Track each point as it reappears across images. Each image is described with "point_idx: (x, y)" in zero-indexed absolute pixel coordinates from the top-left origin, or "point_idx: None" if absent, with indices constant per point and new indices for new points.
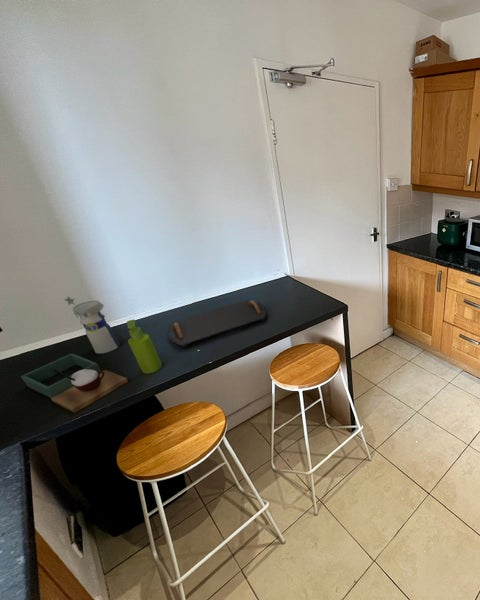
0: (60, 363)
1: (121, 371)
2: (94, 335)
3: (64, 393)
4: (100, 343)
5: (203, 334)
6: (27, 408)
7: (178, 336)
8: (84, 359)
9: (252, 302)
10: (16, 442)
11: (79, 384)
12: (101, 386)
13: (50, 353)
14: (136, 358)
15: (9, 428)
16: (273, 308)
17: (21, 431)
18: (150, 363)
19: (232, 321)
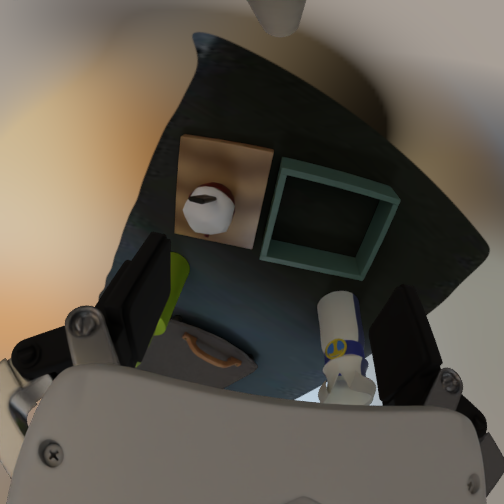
0: (366, 251)
1: (226, 251)
2: (335, 329)
3: (258, 171)
4: (330, 312)
5: (161, 342)
6: (312, 124)
7: (198, 339)
8: (307, 267)
9: None
10: (212, 48)
11: (194, 190)
12: None
13: (438, 278)
14: None
15: (278, 70)
16: None
17: (239, 69)
18: None
19: (154, 367)
